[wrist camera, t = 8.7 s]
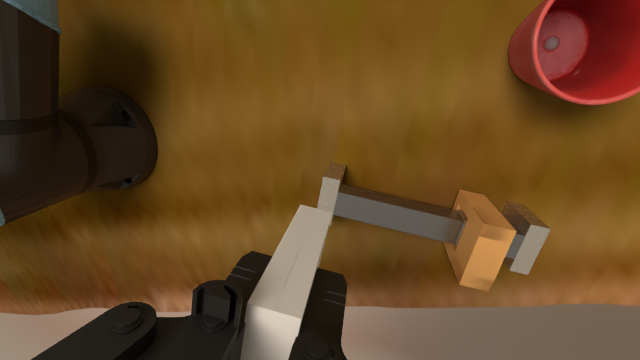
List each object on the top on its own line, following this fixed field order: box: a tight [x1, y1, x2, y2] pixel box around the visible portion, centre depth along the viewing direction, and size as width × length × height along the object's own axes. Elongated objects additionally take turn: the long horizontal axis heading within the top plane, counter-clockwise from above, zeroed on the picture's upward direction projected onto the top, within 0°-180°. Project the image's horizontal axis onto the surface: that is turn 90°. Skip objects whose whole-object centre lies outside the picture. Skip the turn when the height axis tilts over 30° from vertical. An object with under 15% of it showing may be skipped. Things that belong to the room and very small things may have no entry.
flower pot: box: [508, 0, 640, 105], centre depth 29 cm, size 11×11×10 cm
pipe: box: [317, 162, 550, 275], centre depth 38 cm, size 25×6×7 cm, turn 79°
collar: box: [443, 190, 517, 292], centre depth 35 cm, size 3×7×10 cm, turn 169°
